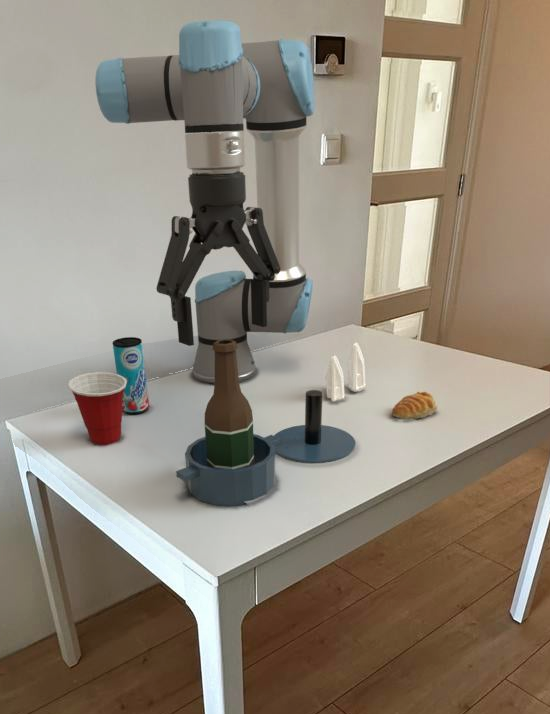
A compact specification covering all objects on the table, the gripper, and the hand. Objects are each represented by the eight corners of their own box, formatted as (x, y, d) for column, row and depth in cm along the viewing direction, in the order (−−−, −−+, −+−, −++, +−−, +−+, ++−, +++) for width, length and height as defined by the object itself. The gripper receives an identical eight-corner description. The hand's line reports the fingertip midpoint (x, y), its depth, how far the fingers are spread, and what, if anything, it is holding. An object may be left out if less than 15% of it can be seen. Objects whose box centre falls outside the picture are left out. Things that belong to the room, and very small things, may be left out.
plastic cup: (108, 455, 118) (99, 394, 111) (67, 444, 123) (55, 385, 116) (145, 434, 125) (138, 376, 119) (105, 424, 130) (96, 367, 124)
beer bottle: (207, 473, 110) (198, 335, 97) (252, 470, 110) (248, 332, 97) (209, 495, 103) (199, 350, 90) (257, 491, 103) (253, 347, 91)
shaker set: (357, 385, 144) (360, 337, 138) (371, 390, 141) (375, 341, 136) (320, 398, 138) (321, 349, 132) (334, 404, 135) (336, 353, 129)
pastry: (409, 425, 124) (411, 407, 122) (383, 416, 129) (384, 398, 127) (438, 412, 129) (441, 394, 127) (412, 404, 134) (414, 386, 132)
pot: (158, 487, 106) (154, 454, 103) (249, 452, 117) (248, 420, 114) (209, 522, 97) (207, 486, 93) (304, 480, 107) (305, 446, 104)
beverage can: (125, 417, 133) (115, 347, 125) (119, 407, 138) (109, 339, 130) (152, 412, 135) (144, 343, 127) (145, 403, 140) (137, 335, 132)
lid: (253, 446, 119) (252, 392, 113) (313, 423, 127) (314, 372, 122) (311, 474, 108) (313, 417, 103) (372, 447, 116) (377, 393, 111)
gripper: (149, 179, 73) (167, 358, 84) (305, 165, 86) (303, 322, 97) (118, 177, 78) (138, 346, 89) (269, 165, 91) (271, 313, 102)
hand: (224, 334), depth 93 cm, fingers open, 13 cm apart
